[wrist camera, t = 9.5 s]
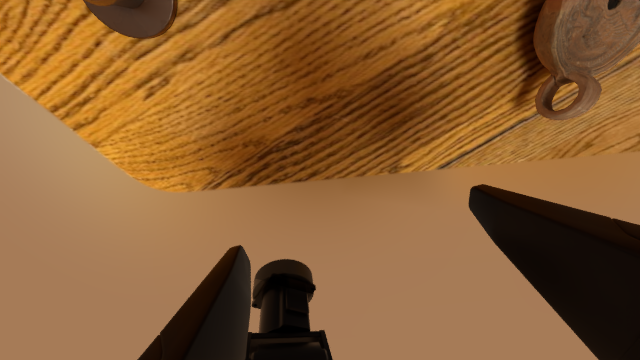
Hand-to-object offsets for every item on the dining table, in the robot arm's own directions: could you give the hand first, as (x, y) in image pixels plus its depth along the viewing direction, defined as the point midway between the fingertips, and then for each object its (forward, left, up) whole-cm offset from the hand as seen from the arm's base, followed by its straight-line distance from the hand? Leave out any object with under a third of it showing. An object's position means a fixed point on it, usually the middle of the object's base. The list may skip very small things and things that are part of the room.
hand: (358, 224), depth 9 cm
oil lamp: (+16, -12, -12) cm, 23 cm away
